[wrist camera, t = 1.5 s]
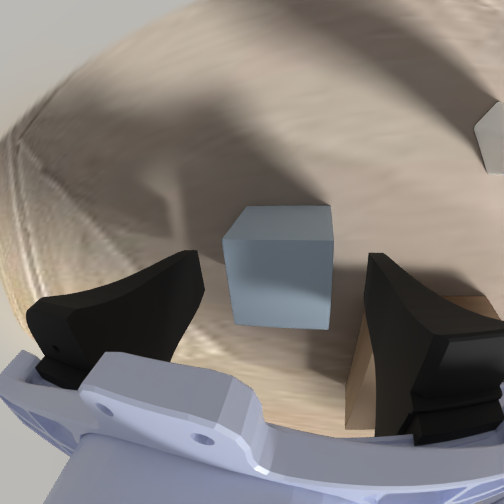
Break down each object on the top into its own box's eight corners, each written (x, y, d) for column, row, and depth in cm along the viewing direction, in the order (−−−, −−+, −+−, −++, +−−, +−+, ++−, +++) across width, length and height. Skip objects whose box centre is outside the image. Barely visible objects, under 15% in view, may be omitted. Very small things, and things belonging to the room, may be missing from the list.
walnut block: (484, 293, 13) (510, 336, 10) (443, 380, 17) (454, 422, 13) (366, 291, 15) (375, 341, 12) (345, 382, 19) (344, 429, 15)
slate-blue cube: (330, 205, 13) (333, 240, 10) (328, 278, 15) (328, 329, 12) (247, 205, 14) (221, 239, 11) (254, 276, 16) (234, 324, 13)
